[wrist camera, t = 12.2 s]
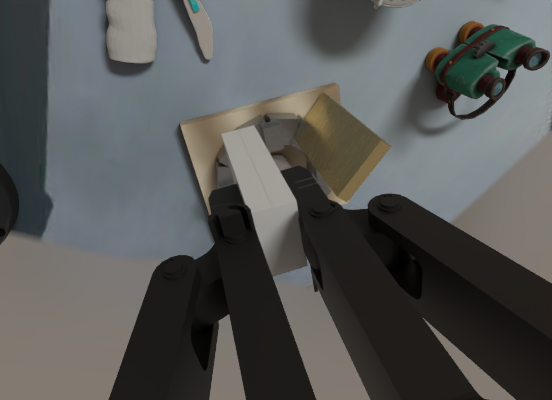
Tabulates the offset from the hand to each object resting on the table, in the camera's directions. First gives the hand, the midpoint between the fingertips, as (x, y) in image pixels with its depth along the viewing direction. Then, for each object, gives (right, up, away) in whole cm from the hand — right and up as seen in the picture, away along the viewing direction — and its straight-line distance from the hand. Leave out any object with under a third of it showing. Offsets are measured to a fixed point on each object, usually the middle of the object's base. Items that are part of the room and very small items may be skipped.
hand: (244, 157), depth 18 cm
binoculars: (+24, +14, +30) cm, 41 cm away
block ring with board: (+2, +3, +29) cm, 29 cm away
